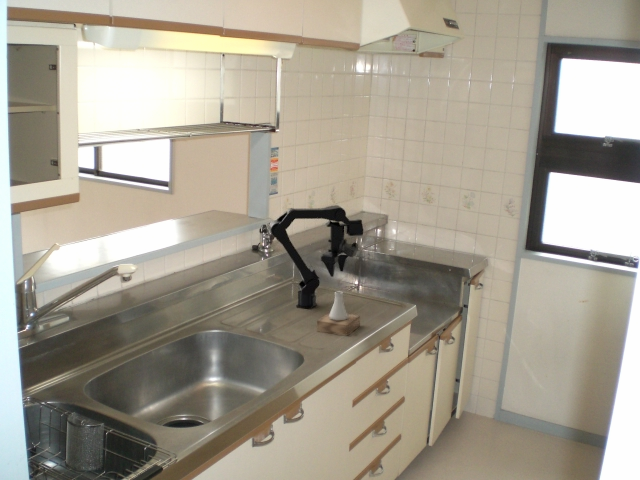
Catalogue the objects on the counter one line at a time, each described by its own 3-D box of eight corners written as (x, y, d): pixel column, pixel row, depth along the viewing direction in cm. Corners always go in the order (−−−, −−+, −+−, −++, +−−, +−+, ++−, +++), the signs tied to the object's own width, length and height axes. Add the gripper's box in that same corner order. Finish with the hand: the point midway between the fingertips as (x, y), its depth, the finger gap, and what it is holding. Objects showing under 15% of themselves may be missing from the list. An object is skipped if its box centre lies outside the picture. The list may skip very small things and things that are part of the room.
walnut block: (317, 330, 257) (317, 320, 256) (331, 321, 267) (331, 311, 267) (346, 335, 252) (346, 325, 251) (359, 325, 262) (359, 315, 261)
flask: (335, 322, 254) (335, 296, 252) (325, 316, 260) (325, 291, 258) (352, 319, 258) (352, 293, 255) (341, 313, 264) (341, 288, 261)
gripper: (345, 243, 270) (345, 282, 273) (364, 234, 286) (364, 271, 290) (320, 240, 275) (320, 278, 278) (340, 231, 291) (339, 267, 294)
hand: (337, 273), depth 285 cm, fingers open, 9 cm apart
